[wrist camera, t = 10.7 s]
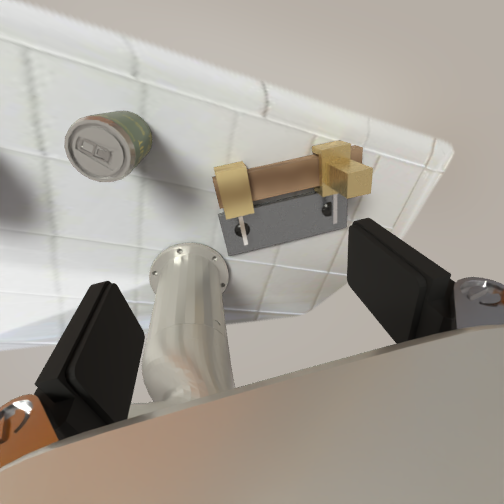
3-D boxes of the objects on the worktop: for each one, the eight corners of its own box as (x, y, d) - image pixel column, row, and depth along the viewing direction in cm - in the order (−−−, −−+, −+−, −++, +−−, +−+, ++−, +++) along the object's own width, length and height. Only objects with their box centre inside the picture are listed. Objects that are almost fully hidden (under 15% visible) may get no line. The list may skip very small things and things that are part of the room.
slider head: (338, 213, 42) (370, 238, 35) (315, 218, 42) (342, 246, 34) (339, 140, 36) (378, 151, 29) (312, 146, 36) (343, 159, 28)
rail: (352, 209, 43) (363, 217, 40) (227, 239, 41) (230, 249, 38) (355, 136, 37) (369, 139, 34) (210, 168, 35) (211, 174, 32)
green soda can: (99, 144, 32) (54, 166, 21) (113, 100, 30) (70, 101, 20) (144, 166, 34) (122, 195, 24) (159, 126, 32) (142, 139, 22)
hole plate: (343, 224, 44) (346, 227, 43) (228, 252, 43) (228, 256, 42) (344, 184, 40) (347, 186, 39) (218, 213, 39) (218, 216, 38)
